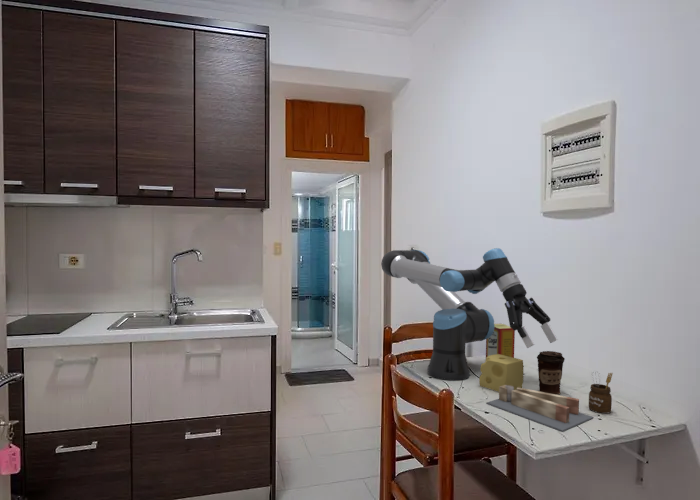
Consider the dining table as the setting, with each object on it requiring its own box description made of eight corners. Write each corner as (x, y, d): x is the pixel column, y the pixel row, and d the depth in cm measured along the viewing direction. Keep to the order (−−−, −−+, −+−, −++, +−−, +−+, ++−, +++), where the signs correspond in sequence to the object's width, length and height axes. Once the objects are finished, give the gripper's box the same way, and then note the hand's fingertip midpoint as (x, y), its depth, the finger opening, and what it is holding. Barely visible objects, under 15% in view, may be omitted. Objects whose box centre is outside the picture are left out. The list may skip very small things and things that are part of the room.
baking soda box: (513, 368, 177) (514, 327, 177) (498, 369, 176) (499, 327, 175) (500, 361, 186) (500, 322, 186) (485, 362, 185) (486, 323, 184)
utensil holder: (598, 405, 139) (599, 366, 138) (617, 412, 133) (618, 371, 133) (583, 407, 137) (584, 367, 136) (601, 415, 131) (603, 373, 130)
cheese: (478, 386, 155) (479, 357, 155) (497, 380, 162) (498, 352, 161) (505, 395, 147) (506, 364, 147) (524, 388, 153) (525, 359, 153)
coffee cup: (567, 398, 145) (568, 357, 144) (539, 395, 146) (540, 355, 146) (560, 389, 153) (561, 350, 153) (533, 387, 155) (534, 349, 154)
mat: (486, 403, 139) (486, 402, 139) (518, 393, 148) (518, 392, 148) (562, 431, 119) (562, 430, 119) (593, 418, 129) (593, 416, 128)
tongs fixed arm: (498, 399, 141) (498, 385, 141) (505, 397, 143) (505, 383, 143) (565, 423, 124) (566, 407, 124) (572, 420, 126) (573, 404, 126)
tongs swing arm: (516, 401, 139) (516, 388, 139) (517, 400, 141) (517, 387, 141) (577, 414, 130) (578, 400, 130) (578, 412, 131) (579, 399, 131)
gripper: (497, 284, 152) (529, 343, 142) (539, 281, 166) (571, 334, 157) (481, 295, 157) (511, 353, 147) (524, 291, 171) (554, 343, 162)
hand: (542, 343), depth 152 cm, fingers open, 13 cm apart
